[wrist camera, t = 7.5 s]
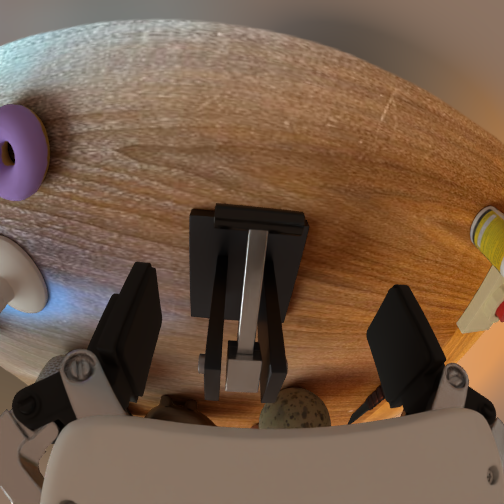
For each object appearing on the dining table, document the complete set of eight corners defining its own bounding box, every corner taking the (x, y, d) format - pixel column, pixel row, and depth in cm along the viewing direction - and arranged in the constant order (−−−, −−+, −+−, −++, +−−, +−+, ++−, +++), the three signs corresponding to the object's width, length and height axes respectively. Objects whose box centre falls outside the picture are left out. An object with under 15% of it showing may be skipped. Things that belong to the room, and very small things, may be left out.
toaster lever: (217, 201, 17) (214, 204, 15) (298, 209, 17) (308, 214, 15) (207, 369, 20) (204, 389, 17) (273, 373, 20) (277, 393, 18)
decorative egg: (273, 409, 46) (278, 484, 33) (245, 385, 40) (246, 476, 28) (330, 393, 43) (344, 471, 31) (312, 366, 38) (328, 464, 25)
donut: (70, 123, 18) (33, 148, 15) (52, 195, 24) (26, 225, 20) (6, 84, 15) (-30, 103, 11) (-4, 155, 20) (-31, 179, 17)
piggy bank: (221, 419, 48) (220, 472, 39) (146, 410, 47) (138, 460, 38) (225, 396, 42) (223, 459, 33) (136, 384, 41) (123, 444, 31)
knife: (346, 416, 50) (348, 428, 48) (342, 416, 50) (345, 428, 48) (391, 374, 41) (396, 388, 39) (387, 374, 41) (392, 389, 39)
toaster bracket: (191, 208, 24) (153, 322, 13) (306, 219, 25) (347, 334, 14) (192, 308, 31) (175, 415, 20) (282, 315, 31) (295, 421, 21)
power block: (500, 249, 27) (516, 266, 24) (523, 254, 28) (537, 269, 24) (456, 323, 35) (466, 342, 32) (482, 320, 36) (493, 337, 32)
